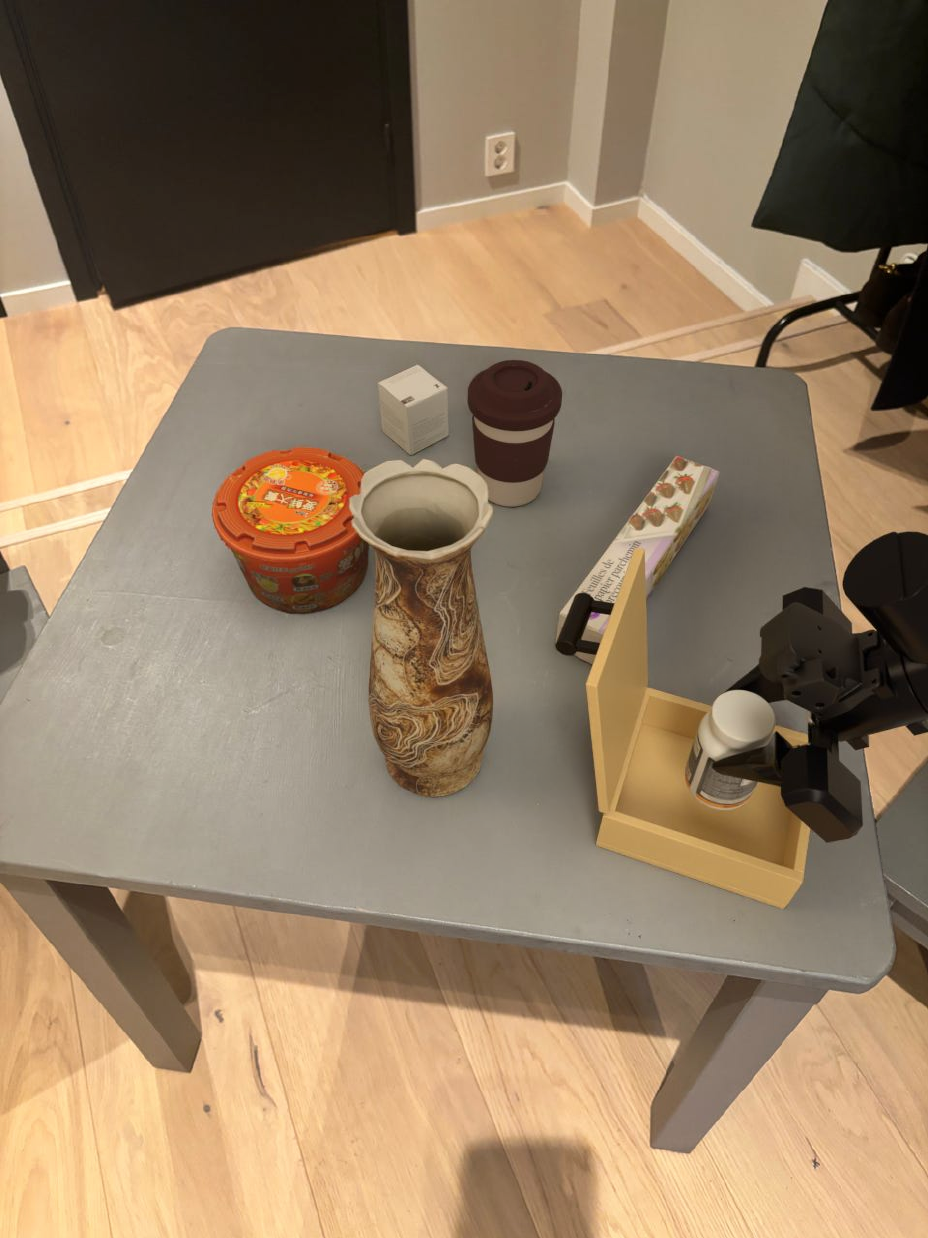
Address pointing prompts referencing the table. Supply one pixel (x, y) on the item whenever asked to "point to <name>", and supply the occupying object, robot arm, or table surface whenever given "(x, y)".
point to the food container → (294, 528)
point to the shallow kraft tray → (701, 812)
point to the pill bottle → (727, 747)
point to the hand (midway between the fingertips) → (716, 735)
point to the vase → (426, 622)
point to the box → (648, 539)
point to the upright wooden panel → (612, 671)
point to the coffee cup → (513, 428)
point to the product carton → (414, 409)
